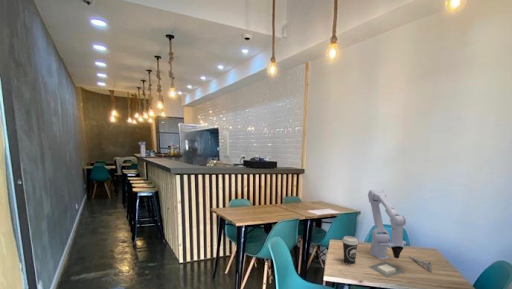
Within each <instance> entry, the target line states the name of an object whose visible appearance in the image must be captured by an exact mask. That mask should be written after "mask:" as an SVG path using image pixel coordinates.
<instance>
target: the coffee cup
mask: <svg viewBox="0 0 512 289" xmlns="http://www.w3.org/2000/svg"><path fill="white" fill-rule="evenodd" d="M341 241H342V247H343V262H344V263H345V264H347V265H355V264H356V257H357V250H358V245H359V241H358V239H357V237H354V236H349V235H345V236H344V237H343V238H342V240H341Z"/></svg>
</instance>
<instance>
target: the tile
mask: <svg viewBox="0 0 512 289" xmlns="http://www.w3.org/2000/svg"><path fill="white" fill-rule="evenodd" d="M377 270H378V271H380V272H382V273H384V274H385V275H388V274H392V273H395V272H396V269H395V268H393V267H391V266H389V265H387V264H385V265H381V266H378V267H377Z"/></svg>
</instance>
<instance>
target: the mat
mask: <svg viewBox="0 0 512 289" xmlns="http://www.w3.org/2000/svg"><path fill="white" fill-rule="evenodd" d="M385 264H387V265H389V266H391V267H393V268H395V269H396V272H395V273H392V274H388V275H385V274H384V273H382V272H380V271H378V270H377V267H378V266H381V265H385ZM367 267H368V268H370V269H372V270H373V271H374V272H377V273H378V274H380V275H382V276H384V277H385V278H387V279H388V278H390V277H395V276H398V275H400V274H405V273H406V271H404V270H403V269H400V268H399V267H397V266H395V265H393V264H391V263H389V262H388V261H384V262H380V263H376V264H371V265H368V266H367Z"/></svg>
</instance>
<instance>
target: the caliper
mask: <svg viewBox="0 0 512 289" xmlns="http://www.w3.org/2000/svg"><path fill="white" fill-rule="evenodd" d="M408 258H410V259H411V260H413V261H415V262H417V263H419V264H421V266H423V267H425V268H426V271H428V272H429V273H430V274H432V272H433V268H432V263H431V262H430V261H428V260H427V261H425V260H420V259H418V258H416V257H414V256H412V255H409V256H408Z"/></svg>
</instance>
